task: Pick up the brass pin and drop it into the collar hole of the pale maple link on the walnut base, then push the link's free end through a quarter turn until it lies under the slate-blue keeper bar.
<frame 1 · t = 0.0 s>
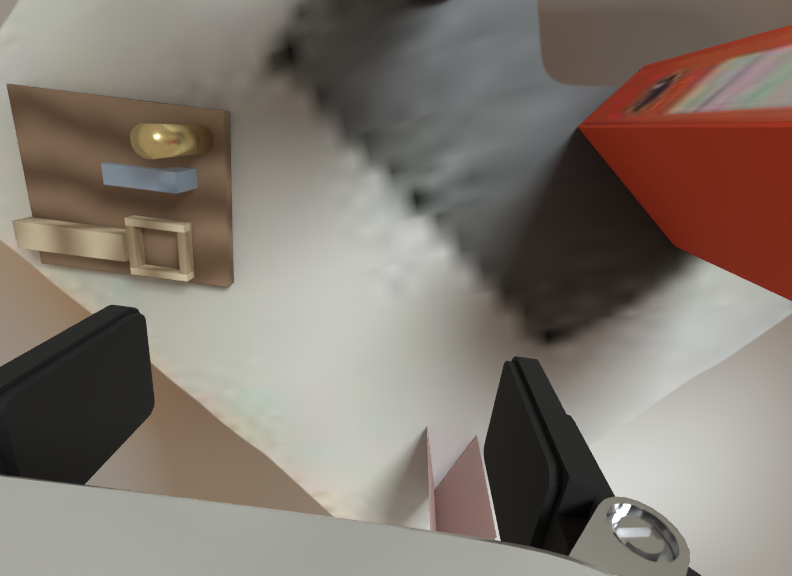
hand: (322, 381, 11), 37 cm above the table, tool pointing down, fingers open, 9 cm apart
keeper: (160, 173, 44), resting on base plate
file binder: (657, 163, 43), on the table
base plate: (134, 190, 47), on the table
link: (105, 242, 46), point 3 cm above the table, hinge at 90.0°
greeting card: (437, 454, 58), on the table
pin: (200, 139, 43), point 1 cm above the table, touching base plate
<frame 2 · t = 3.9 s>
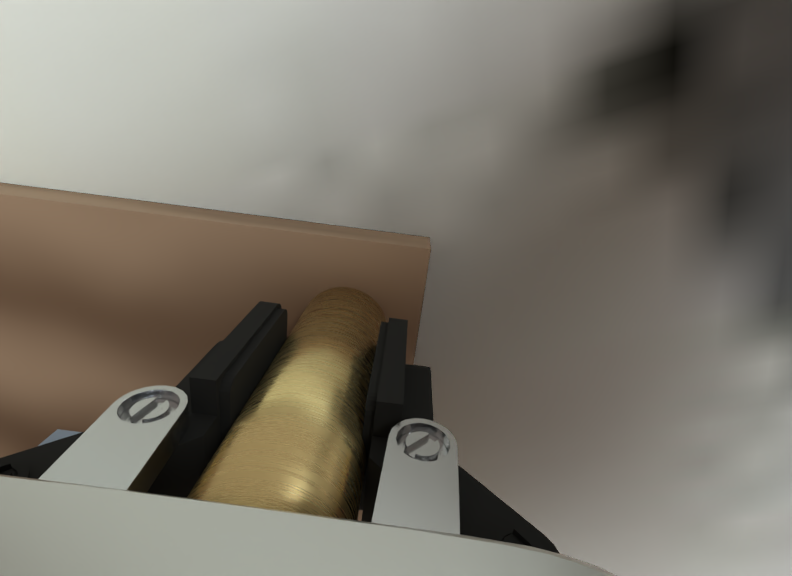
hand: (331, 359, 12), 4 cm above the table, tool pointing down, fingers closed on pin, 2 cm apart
base plate: (139, 422, 18), on the table
pin: (344, 326, 14), point 2 cm above the table, touching gripper
when the fingers open (4 cm above the table, at t = 8.9 s): pin stays where it is, resting on base plate.
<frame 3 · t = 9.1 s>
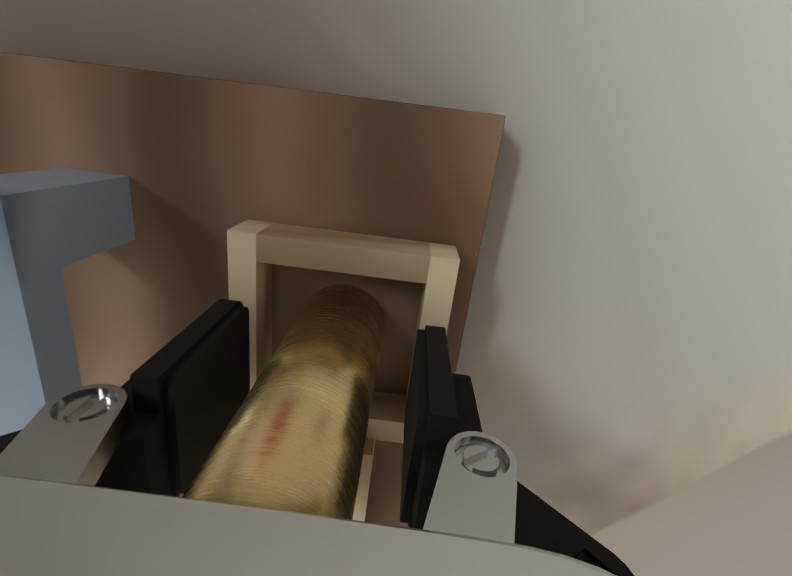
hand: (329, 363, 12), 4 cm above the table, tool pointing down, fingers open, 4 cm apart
keeper: (112, 292, 14), resting on base plate
base plate: (210, 377, 17), on the table
link: (326, 486, 15), point 3 cm above the table, hinge at 90.0°
pin: (343, 322, 14), point 2 cm above the table, touching base plate
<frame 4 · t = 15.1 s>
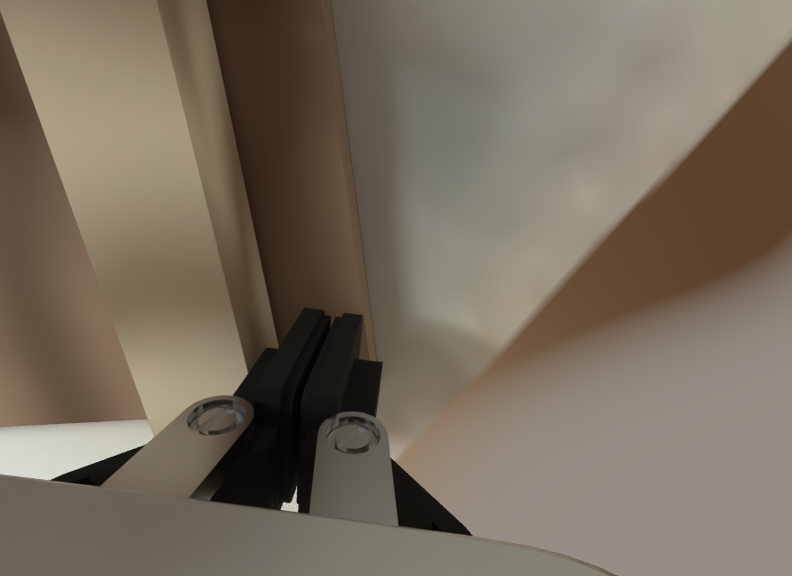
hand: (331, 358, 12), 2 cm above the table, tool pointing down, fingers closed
base plate: (3, 68, 12), on the table
link: (144, 118, 9), point 3 cm above the table, hinge at 89.3°, touching gripper
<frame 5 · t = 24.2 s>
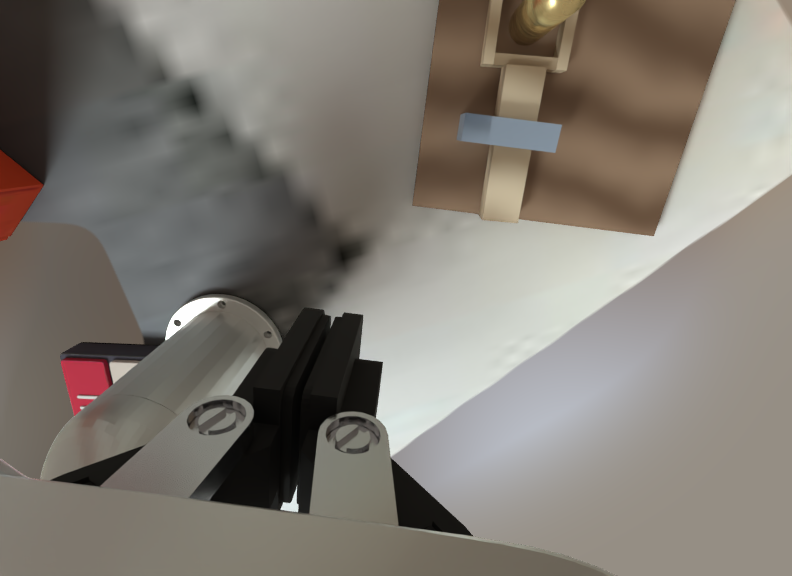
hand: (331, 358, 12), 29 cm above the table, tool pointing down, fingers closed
keeper: (505, 133, 35), resting on base plate
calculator: (141, 397, 49), on the table
base plate: (554, 108, 36), on the table
link: (517, 105, 33), point 3 cm above the table, hinge at 2.1°
pin: (526, 25, 32), point 2 cm above the table, touching base plate
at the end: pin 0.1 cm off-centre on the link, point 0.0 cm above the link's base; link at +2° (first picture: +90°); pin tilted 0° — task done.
